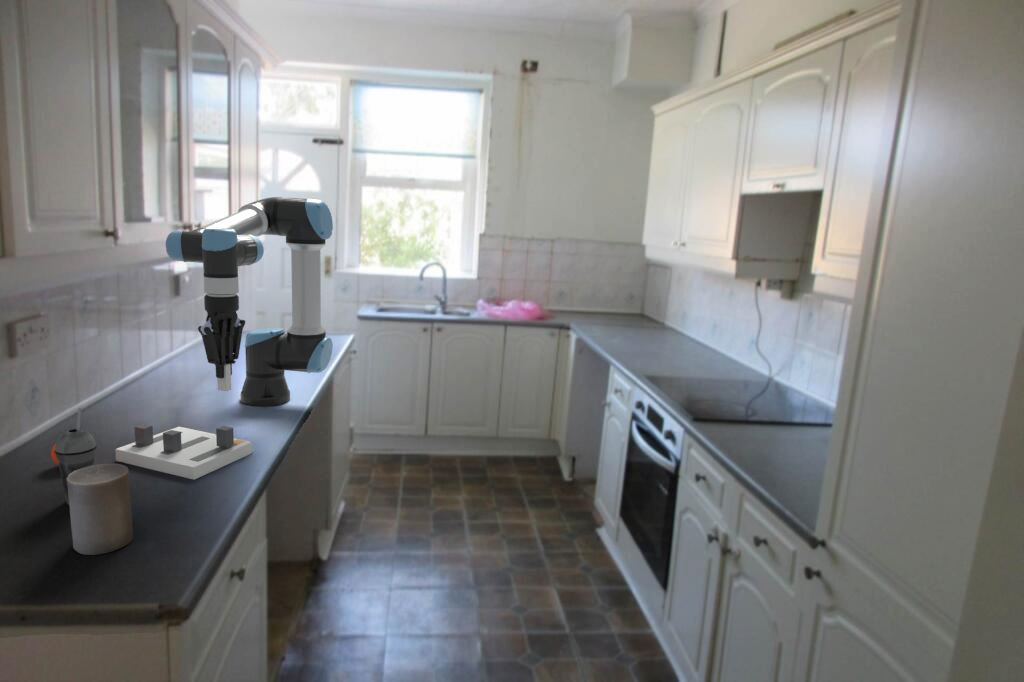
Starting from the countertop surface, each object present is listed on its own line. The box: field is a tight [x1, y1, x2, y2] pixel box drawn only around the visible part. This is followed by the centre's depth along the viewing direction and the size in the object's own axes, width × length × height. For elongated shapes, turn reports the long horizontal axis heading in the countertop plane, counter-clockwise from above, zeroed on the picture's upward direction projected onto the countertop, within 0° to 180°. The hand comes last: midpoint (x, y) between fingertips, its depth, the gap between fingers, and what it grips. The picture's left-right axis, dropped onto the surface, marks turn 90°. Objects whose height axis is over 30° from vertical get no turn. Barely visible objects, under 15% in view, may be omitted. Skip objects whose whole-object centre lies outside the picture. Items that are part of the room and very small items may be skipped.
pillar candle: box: [66, 463, 135, 556], centre depth 120 cm, size 10×10×15 cm
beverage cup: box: [54, 407, 98, 506], centre depth 135 cm, size 7×7×20 cm
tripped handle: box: [215, 425, 235, 448], centre depth 162 cm, size 2×3×4 cm
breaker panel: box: [115, 423, 253, 481], centre depth 162 cm, size 19×24×8 cm
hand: (224, 389), depth 160 cm, fingers closed
